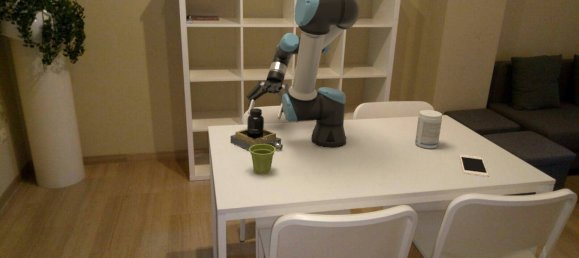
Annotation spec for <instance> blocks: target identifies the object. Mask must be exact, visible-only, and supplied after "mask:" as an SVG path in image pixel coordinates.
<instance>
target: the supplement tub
mask: <svg viewBox="0 0 579 258" xmlns="http://www.w3.org/2000/svg"><path fill="white" fill-rule="evenodd" d="M442 121H443V114H442V113H441V111H437V110H432V109H423V110H419V113H418V117H417V125H416V132H415V133H416V134H415V140H414V142H415V145H416V146H417V147H420V148H423V149H430V150H431V149H436V148H437V147H438V146H439V140H440V133H441V128H442Z"/></svg>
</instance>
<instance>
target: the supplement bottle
mask: <svg viewBox="0 0 579 258" xmlns="http://www.w3.org/2000/svg"><path fill="white" fill-rule="evenodd" d="M246 121H247V123H246V125H247V127H246V129H247V136H248V137H251V138H253V139H256V138H260V137H263V134H264V129H265V118H264V116H263V111H262V109H261V108H255V107H254V108H253V109H250V115H249V114H248V116H247V120H246Z"/></svg>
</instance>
